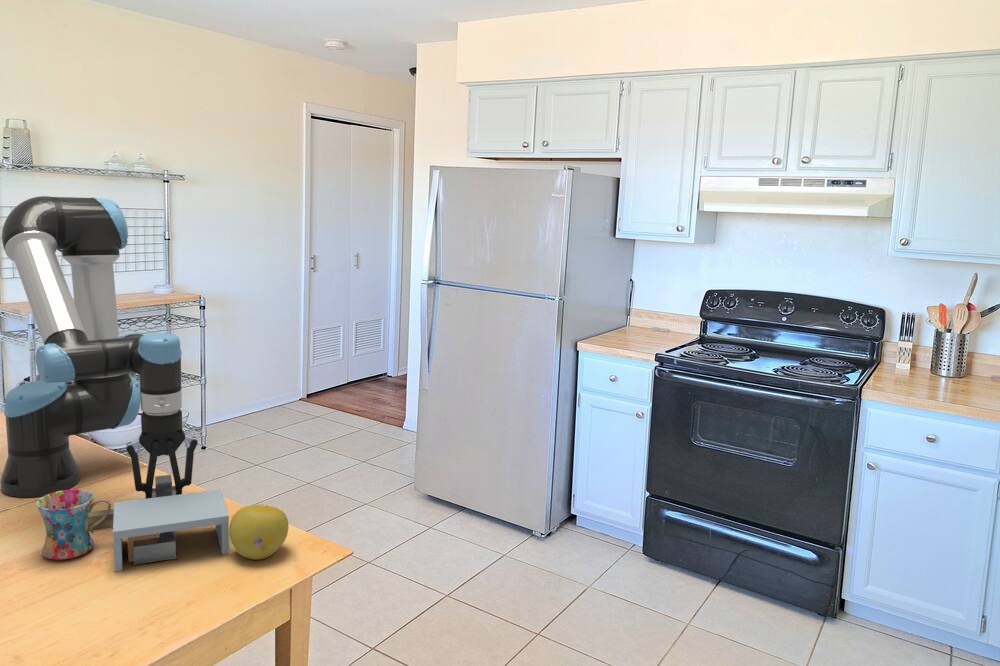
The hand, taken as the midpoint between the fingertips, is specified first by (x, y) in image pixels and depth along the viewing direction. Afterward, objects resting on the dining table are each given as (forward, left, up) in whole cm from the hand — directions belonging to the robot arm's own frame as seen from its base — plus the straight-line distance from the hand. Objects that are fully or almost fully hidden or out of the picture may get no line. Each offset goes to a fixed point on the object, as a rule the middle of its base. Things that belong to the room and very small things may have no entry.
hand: (164, 518), depth 150 cm
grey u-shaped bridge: (+12, +1, -1) cm, 12 cm away
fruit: (+20, +16, -1) cm, 26 cm away
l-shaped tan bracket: (-2, -13, -1) cm, 13 cm away
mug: (+7, -15, -1) cm, 17 cm away
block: (+12, -4, -1) cm, 13 cm away
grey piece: (+8, -2, 0) cm, 8 cm away
